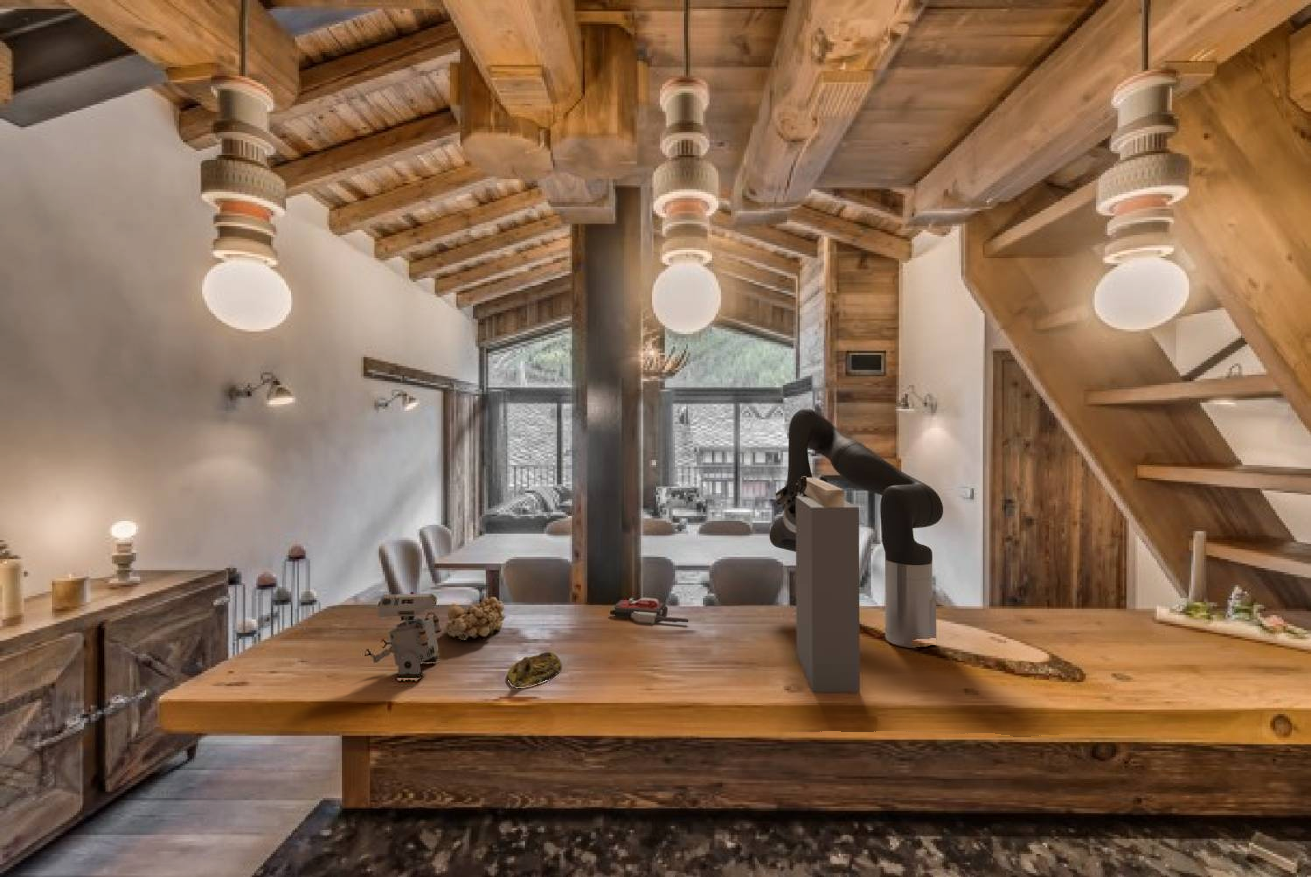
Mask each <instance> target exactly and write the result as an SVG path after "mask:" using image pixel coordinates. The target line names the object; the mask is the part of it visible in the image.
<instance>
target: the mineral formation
mask: <svg viewBox="0 0 1311 877" xmlns="http://www.w3.org/2000/svg"><path fill="white" fill-rule="evenodd" d="M447 610H448V611H447V618H448V619H449V620H448V621H446V625H445V627H444V628H443V630H442V631H443V632H444V633H447V634H448V635H449V636H450V637H453V638H456V637H458V640H459V639H461V640H464V639H467V640H468V639H469V637H471V638H472V639H476V638H478V636H481V637H484V638H485V637H487V636H488V635H490V634H493V633H494V631H495V630H499V631H500V630H501V629H502V628H503V627H502V626H503V621H504V620H505V619H506V615H505V614H504V613H503V611H504V610H505V604H504V603H503V602H502V601H501V600H498V599H497V597H495V596H491V597H489V598H488V597H487V598H486V597H485V598H483V599H481V602H480V604H478V603H476V604H471V605H469V607H468V608H465V610H464V609H463V608H462V607H461V606H460V605H458V604H457V603H451V605H450V606H449V608H448V609H447ZM489 633H490V634H489ZM469 635H470V636H469ZM461 640H460V641H461Z"/></svg>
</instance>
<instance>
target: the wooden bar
mask: <svg viewBox="0 0 1311 877" xmlns="http://www.w3.org/2000/svg"><path fill="white" fill-rule="evenodd" d="M801 479H802V478H801ZM806 481H807V487H806V489H805V492H804V494H806V495H807V496H809V497H810V498H812V499H814V500H815V501H817V502H818V503H820V504H822V505H823V506H825V507H826V508H835V507H844V500H845V489H842V488H840V487H838V486H836V485H833V484H832V483H829V482H828V481H827V482H824V481H822V480H819V478H818V477H813V478H807V480H806ZM831 484H832V485H831Z"/></svg>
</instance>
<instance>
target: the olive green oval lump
mask: <svg viewBox="0 0 1311 877" xmlns="http://www.w3.org/2000/svg"><path fill="white" fill-rule="evenodd" d="M562 664H563V663H562V662H561V660H560V658H559V657H558V655H556V654H555V653H553V652H550V651H544V652H542V653H540V654H537V655H532V656H525V657H523V658H522V659H521V660H519V661H518V662H516V663H515V664H514V665H513V666H511V667H510V668H509V670H508V672H507V675H506V680H507V679H508V680H509V682H510V683H511V684H512V685H513V686H514V687H526V686H531V685H534V684H538V683H540V682H543V681H545V680H549V679H551V678H552V677H553V676H554V675H555V674H556V673H558V674H559V673H560V672H561V670H562V667H563V665H562ZM559 671H560V672H559ZM555 676H556V675H555ZM555 676H554V677H555ZM554 677H553V678H554ZM553 678H552V679H553ZM552 679H551V680H552Z"/></svg>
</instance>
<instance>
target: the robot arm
mask: <svg viewBox="0 0 1311 877" xmlns="http://www.w3.org/2000/svg"><path fill="white" fill-rule="evenodd" d="M808 449H810V450H812V451H814V452H816V453H818V454H820V455H822V456H823V457H825V458H826V459H827V460H829V461H830V463H831V466H832V468H833V469H834V470H835V472H837V474H838V475H840V476H841V477H842V478H844V479H845V480H846V481H847V482H848V483H850V484H852V485H853V486H854V487H857V488H860V489H862V490H863V491H864V490H865V491H868V492H870V493H873V494H876V495H880V496H881V498H880V503H879V515H880V529H881V530H880V531H881V532H880V533H881V543H882V547H883V551H884V567H885V568H884V575H885V576H884V577H885V578H884V582H885V583H884V586H885V588H884V590H885V591H884V592H885V593H884V594H885V595H884V599H885V600H884V601H885V602H884V603H885V604H884V605H885V606H884V608H885V609H884V610H885V611H884V615H885V617H884V622H885V623H884V624H885V627H884V632H885V640H886V641H887V642H888V643H891V644H893V645H896V646H899V647H904V648H909V649H917V648H916V646H915V645H914V644H912V643H911V641H913V640H916V639H930V638H936V639H937V600H936V599H935V598H934V597H933V550H932V549H931V547H929V546H927V545H925V544H922V543H919V542H917V541H916V540H915V536H914V529H921V528H922V529H923V528H929V527H931V526H934V525H936V524H937V523H938V522H940V520H941V519H942V517H943V514H944V506H943V502H942V499H941V497H940V495H939V494H938V493H937V492H936V491H935V489H933V488H932V487H931V486H930V485H928V484H926V483H925V482H923V481H920V480H919V479H917V478H915V477H912V476H911V475H909V474H907V473H905V472H903V471H901V470H900V469H898V468H897V467H895V466H894V465H893V464H891V463H890V462H889V461H887V460H885V459H884V458H882V457H881V456H879V455H878V454H877V453H875V451H873V450H871V449H870V448H869V447H868V446H866V445H864V444H863V443H861V442H859V441H857V440H855V439H851V438H848V437H847V436H845V435H844V434H843V433H842V432H840V430H839V429H837V427H836V426H835V425H833V423H831V421H829V420H828V419H827V418H825V417H823V415H821V414H820V413H818V412H817V411H815V409H814V410H813V409H812V408H808V407H804V408H801V409H799V410H797V411H796V412H795V413H794V415H793V416H792V417H791V419H790V422H789V426H788V450H787V451H788V453H787V455H788V456H787V457H788V458H787V459H788V460H787V463H788V464H787V465H788V466H787V479H786V485H785V486H784V487H782V488H780V489H779V490H778V491H777V492H775V504H776V505H778V506H781V505H782V506H781V507H782V511H783V512H782V516H781V517H779V518H778V519H776V520H775V521H774V522H773V524H772V525H771V528H770V531H769V540H770V543H771V544H772V545H773V546H774V547H775V548H778V549H781V550H787V551H791V552H795V553H796V496H807V495H806V494H804V492H805V489H806V487H807V481H806V480H807V478H814V477H813V474H812V470H811V463H810V460H809V459H810V458H809V450H808ZM801 478H802V479H801ZM818 479H819V480H822V481H824V482H827V483H828V480H827V478H825V476H824V475H823V476H822V475H820V476H819V478H818ZM830 484H831V485H833V484H832V483H830Z"/></svg>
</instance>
